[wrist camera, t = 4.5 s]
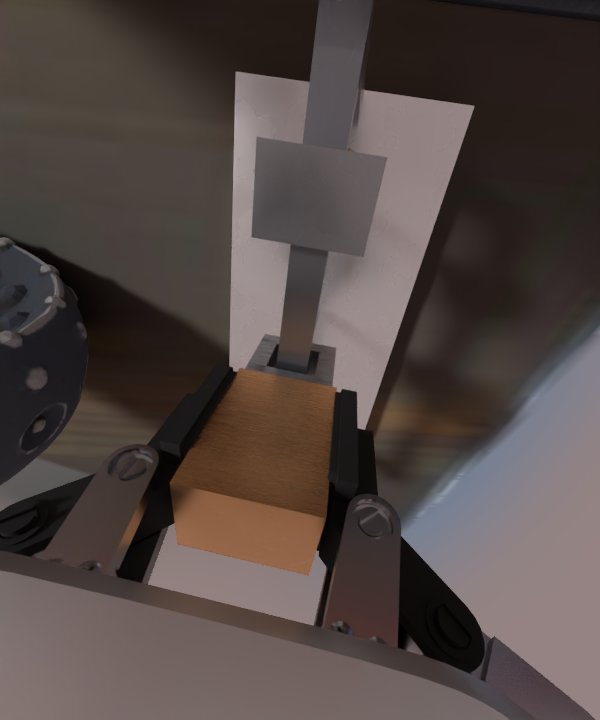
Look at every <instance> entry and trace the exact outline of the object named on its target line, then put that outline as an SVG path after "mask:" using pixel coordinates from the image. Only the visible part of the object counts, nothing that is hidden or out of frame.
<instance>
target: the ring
mask: <svg viewBox="0 0 600 720" xmlns="http://www.w3.org/2000/svg"><path fill="white" fill-rule="evenodd" d="M77 302H78V298H77V296H76V295H75V293H74V291H73V290H72V288H70V287H69V286H67V285H65V284H64V283H63V281H62V280H61V279H60V277H59V270H57V269H56V268H55V267H54V266H52V265H47V264H45V263H44V262H43V261H42V260H40V259H39V258H38V257H36V256H34V255H32V254H31V253H29V252H27V251H25V250H24V249H22V248H20V247H18V246H17V245H16V244H15V242H14V241H12V240H11V239H9V238H5V237H4V238H0V485H1V484H3V483H4V482H6V481H8V480H9V479H11V478H12V477H13V476H14V475H16V474H17V473H18V472H19V471H21V470H22V469H23V468H24V467H25V466H27V465H28V464H29V463H30V462H32V461H33V460H34V459H35V458H36V457H37V456H39V455H40V454H41V453H42V452H43V451H45V450H46V449H47V448H48V446H49V445H50V444H51V443H52V442H53V441H54V440H55V439H56V437H57V436H58V435H59V434H60V433H61V432H62V430H63V429H64V427H65V426H66V424H67V423H68V421H69V420H70V418H71V417H72V415H73V413H74V411H75V409H76V407H77V405H78V403H79V401H80V398H81V394H82V391H83V386H84V381H85V376H86V371H87V365H88V358H89V350H88V337H87V333H86V329H85V326H84V323H83V319H82V316H81V313H80V311H79V309H78V307H77Z"/></svg>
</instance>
